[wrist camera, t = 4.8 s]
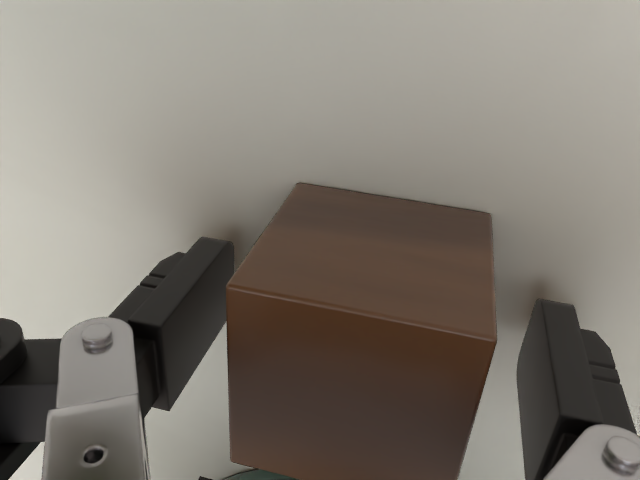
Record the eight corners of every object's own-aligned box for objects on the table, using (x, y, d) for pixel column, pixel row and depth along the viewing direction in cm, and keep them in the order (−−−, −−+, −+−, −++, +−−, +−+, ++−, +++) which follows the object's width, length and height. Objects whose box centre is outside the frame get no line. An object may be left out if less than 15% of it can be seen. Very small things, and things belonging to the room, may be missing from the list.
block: (297, 181, 14) (223, 284, 10) (492, 212, 13) (498, 339, 9) (290, 330, 16) (228, 463, 12) (455, 365, 15) (447, 519, 11)
